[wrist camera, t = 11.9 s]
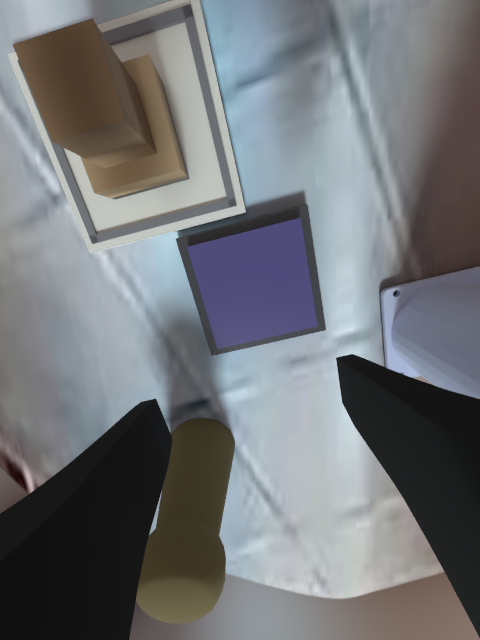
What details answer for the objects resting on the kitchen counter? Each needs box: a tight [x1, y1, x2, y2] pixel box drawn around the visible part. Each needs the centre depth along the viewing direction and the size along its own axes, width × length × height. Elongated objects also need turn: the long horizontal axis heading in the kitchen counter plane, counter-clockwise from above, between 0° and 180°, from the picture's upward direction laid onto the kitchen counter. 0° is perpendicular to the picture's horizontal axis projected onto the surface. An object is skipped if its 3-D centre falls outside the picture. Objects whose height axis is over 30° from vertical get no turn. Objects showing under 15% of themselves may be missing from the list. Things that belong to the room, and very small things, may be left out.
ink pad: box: [176, 205, 326, 356], centre depth 18 cm, size 9×9×1 cm
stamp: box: [13, 19, 189, 200], centre depth 12 cm, size 5×5×6 cm
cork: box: [136, 418, 235, 624], centre depth 18 cm, size 6×6×11 cm
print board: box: [7, 0, 246, 253], centre depth 16 cm, size 11×11×1 cm
